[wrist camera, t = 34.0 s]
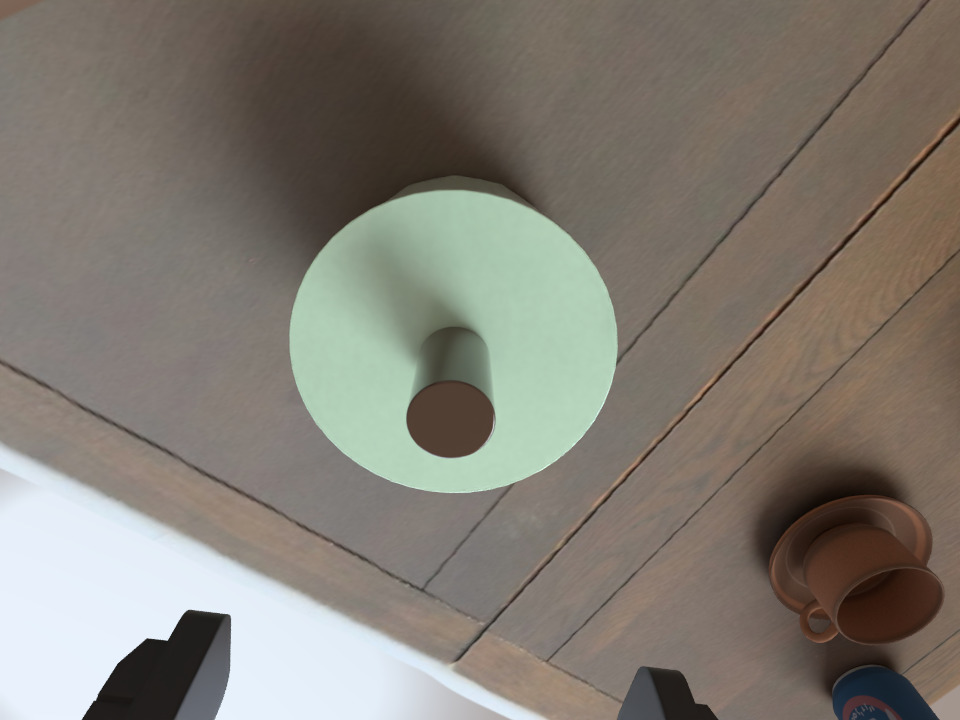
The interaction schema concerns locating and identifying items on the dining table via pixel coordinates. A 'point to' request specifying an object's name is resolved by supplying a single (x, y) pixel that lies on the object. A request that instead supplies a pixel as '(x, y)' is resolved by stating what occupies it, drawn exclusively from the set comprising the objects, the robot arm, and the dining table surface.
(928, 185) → the dining table surface
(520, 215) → the jar lid
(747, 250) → the dining table surface
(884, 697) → the soda can
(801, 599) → the cup and saucer
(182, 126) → the dining table surface
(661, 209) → the dining table surface
